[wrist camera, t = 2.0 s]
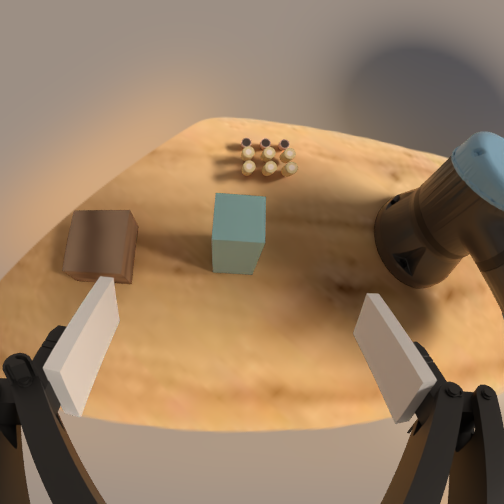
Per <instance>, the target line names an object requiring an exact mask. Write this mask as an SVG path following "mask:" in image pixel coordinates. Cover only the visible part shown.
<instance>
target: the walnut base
mask: <svg viewBox="0 0 504 504" xmlns="http://www.w3.org/2000/svg"><path fill="white" fill-rule="evenodd" d="M137 233H138V225H137V223H136V221H135V219H134V217H133V215H132V213H131V211H130V210H87V211H74V213H73V217H72V222H71V226H70V231H69V236H68V241H67V246H66V251H65V257H64V263H63V269H62V271H63V272H65V273H66V274H68V275H69V276H71V277H72V278H74V279H75V280H77V281H87V282H97V280H98V279H99V277H100V276H102V277H112V278H114V283H121V284H132V276H133V266H134V257H135V248H136V240H137Z"/></svg>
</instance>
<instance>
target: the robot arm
mask: <svg viewBox="0 0 504 504" xmlns="http://www.w3.org/2000/svg"><path fill="white" fill-rule="evenodd" d="M375 241H376V246H377V249H378V252H379V254H380V256H381V259H382V260H383V262H384V264H385V265H386V267H387V268H388V269H389V271H390V272H391V273H392V274H393V275H394V276H395V277H396V278H397V279H398V280H400V281H401V282H403V283H404V284H406V285H409V286H411V287H415V288H428V287H431V286H433V285H435V284H438V283H440V282H441V281H443V280H444V279H445V278H447V277H448V275H449V274H450V273H451V271H452V270H453V269H454V268H455V267H456V266H457V264H458V263H459V262H460V260H461V259H462V258H463V257H465V256H467V255H469V254H470V255H471V256H472V258H473V260H474V261H475V263H476V265H477V266H478V268H479V270H480V272H481V273H482V275H483V277H484V279H485V280H486V282H487V284H488V286H489V288H490V290H491V291H492V293H493V295H494V297H495V299H496V301H497V303H498V305H499V307H500V309H501V311H502V315H503V318H504V138H502V137H500V136H498V135H496V134H494V133H491V132H478V133H475V134H473V135H472V136H471V137H470V138H469V139H468V140H466V141H465V142H464V143H463V144H462V145H461V146H458V147H457V148H455V150H454V151H453V152H452V156H451V157H450V158H449V159H448V160H447V161H446V162H445V163H444V164H443V165H442V166H441V167H440V168H439V169H438V170H437V171H436V172H435V173H434V174H433V175H432V176H430V177H429V178H428V179H427V180H426V181H425V182H424V183H423V184H422V185H421V186H420V187H419V188H417V189H414V190H411V191H408V192H405V193H402V194H399V195H397V196H395V197H393V198H392V199H390V200H389V201H388V202H387V203H386V204H385V205H384V206H383V207H382V208H381V210H380V211H379V213H378V215H377V218H376V222H375ZM119 322H120V319H119V313H118V307H117V300H116V293H115V285H114V278H112V277H102V276H100V277H99V279H98V280H97V282H96V283H95V284H94V286H93V287H92V289H91V290H90V292H89V293H88V295H87V296H86V298H85V299H84V301H83V302H82V304H81V305H80V307H79V308H78V310H77V311H76V313H75V315H74V316H73V318H72V319H71V321H70V322H69V324H68V326H67V327H65V326H60V325H58V326H57V327H56V328H55V329H53V330H52V331H51V332H50V333H49V335H48V336H47V338H46V341H44V342H43V344H42V347H40V349H39V350H38V352H37V354H36V355H35V357H34V359H33V360H31V358H30V357H29V356H28V355H26V354H23V353H16V354H13V355H11V356H9V357H8V358H7V359H6V360H5V362H4V364H3V371H4V373H5V375H6V377H7V378H0V504H30V500H29V494H28V489H27V483H26V476H25V470H24V461H23V451H22V441H21V440H22V439H21V425H22V429H23V432H24V435H25V438H26V441H27V444H28V446H29V449H30V452H31V455H32V458H33V460H34V463H35V465H36V468H37V470H38V473H39V475H40V477H41V479H42V482H43V484H44V486H45V489H46V491H47V493H48V495H49V497H50V499H51V501H52V503H53V504H106V503H105V501H104V499H103V498H102V496H101V495H100V493H99V491H98V490H97V488H96V487H95V485H94V483H93V482H92V480H91V478H90V476H89V475H88V473H87V471H86V469H85V468H84V466H83V464H82V462H81V460H80V458H79V456H78V454H77V453H76V450H75V448H74V446H73V444H72V442H71V440H70V438H69V436H68V434H67V432H66V429H65V427H64V425H63V423H62V421H61V418H60V416H59V414H58V410H59V408H60V405H61V407H62V409H63V411H64V413H66V414H69V415H73V416H77V417H81V415H82V413H83V410H84V407H85V404H86V402H87V399H88V396H89V394H90V391H91V389H92V386H93V383H94V381H95V378H96V376H97V373H98V371H99V368H100V366H101V364H102V361H103V359H104V356H105V354H106V352H107V349H108V347H109V345H110V342H111V340H112V338H113V335H114V333H115V331H116V329H117V326H118V324H119ZM353 335H354V337H355V339H356V341H357V343H358V345H359V347H360V349H361V351H362V353H363V355H364V357H365V359H366V361H367V363H368V365H369V367H370V370H371V372H372V374H373V376H374V378H375V380H376V382H377V384H378V387H379V389H380V391H381V393H382V395H383V398H384V400H385V402H386V404H387V406H388V409H389V411H390V413H391V415H392V418H393V420H394V422H395V424H397V423H402V422H407V421H409V420H410V419H411V418H412V416H413V415H414V413H415V414H416V416H417V418H418V419H417V420H416V421H415V423H414V424H413V426H412V427H411V428H410V429H409V431H408V432H407V433H410V432H411V430H412V432H411V435H410V437H409V440H408V443H407V445H406V448H405V451H404V453H403V456H402V458H401V461H400V463H399V466H398V468H397V470H396V472H395V475H394V477H393V479H392V481H391V483H390V486H389V488H388V490H387V492H386V494H385V496H384V498H383V500H382V502H381V504H440V502H441V499H442V496H443V493H444V490H445V486H446V483H447V479H448V476H449V495H448V504H504V428H503V422H502V417H501V412H500V407H499V403H498V399H497V395H496V393H495V391H494V390H493V389H492V388H491V387H489V386H487V385H480V386H478V387H477V389H476V390H475V391H474V392H463V390H462V388H461V387H460V386H459V385H457V384H455V383H453V382H447V381H446V380H445V378H444V377H443V375H442V374H441V372H440V371H439V369H438V368H437V366H436V364H435V363H434V362H433V360H432V358H431V357H429V354H428V353H427V351H426V350H425V348H424V347H423V346H421V345H420V344H419V343H418V342H412V340H411V339H410V337H409V336H408V335H407V333H406V332H405V330H404V329H403V327H402V326H401V324H400V323H399V321H398V320H397V319H396V317H395V316H394V314H393V313H392V311H391V310H390V309H389V307H388V306H387V304H386V303H385V302H384V300H383V299H382V297H381V296H380V295H379V294H377V293H367V294H366V297H365V300H364V303H363V306H362V309H361V312H360V315H359V318H358V321H357V323H356V326H355V329H354V332H353ZM474 428H475V432H474Z"/></svg>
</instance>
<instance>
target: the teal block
mask: <svg viewBox="0 0 504 504" xmlns="http://www.w3.org/2000/svg"><path fill="white" fill-rule="evenodd" d="M265 223H266V197H263V196H251V195H238V194H224V193H216V197H215V208H214V218H213V230H212V265H213V272H217V273H232V274H249V275H252V274H253V272H254V269H255V267H256V264H257V262H258V259H259V257H260V255H261V252H262V250H263V247H264V245H265Z"/></svg>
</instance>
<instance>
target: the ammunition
mask: <svg viewBox="0 0 504 504" xmlns="http://www.w3.org/2000/svg"><path fill="white" fill-rule="evenodd" d="M270 144H271V142H270V140H269V139H267V138H264V139H262V140H261V142H260V148H261V149H263V150H264V151H263V152H262V154H261V160H262V161H263V162H267V163H266V164H265V165H264V166H263V168H262V174H263V175H265V176H270V175H271V174H272V173H274V172H275V171H276V169H277V165H276V163H275V162H273V161H270V160H271V159H272V158H273V157H274V156H275V150H274V149H273V148H272V147H269V146H270ZM241 146H242V148H244V149H243V151H242V154H241V159H242V160H243V161H245V163H244V164H243V167H242V173H243V174H244V175H246V176H248V175H251V174H252V172H253V171H254V170H255V163H254V162H253V161H250V160H251V159H252V157H253V155H254V149H253V148H252V147H250V146H251V140H250V139H249V138H244V139H242V141H241ZM278 147H279V149H280V150H285V151H284V152H283V153H282V154H281V155H280V160H281V161H282V162H283V163H287V164H286V165H285V166H284V167H283V168H282V171H281V173H282V175H283V176H286V177H288V176H290V175H292V174H294V173H295V172H297V170H298V166H297V164H296V163H294V162H289V161H290V160H292V159H293V158H294V157H295V155H296V153H295V151H294V149H292V148H288V147H289V141H288V140H286V139H283V140H281V141H280V142H279V145H278ZM288 162H289V163H288Z"/></svg>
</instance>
